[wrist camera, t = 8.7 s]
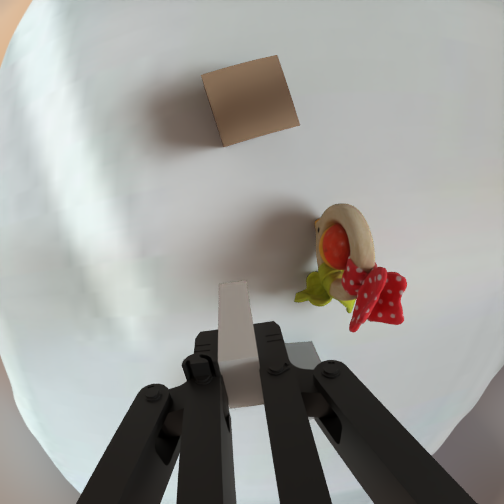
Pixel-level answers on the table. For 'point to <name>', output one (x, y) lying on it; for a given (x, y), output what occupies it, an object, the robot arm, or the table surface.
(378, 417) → the robot arm
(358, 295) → the bird rattle
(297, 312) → the table surface
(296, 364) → the grey block
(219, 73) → the walnut block
